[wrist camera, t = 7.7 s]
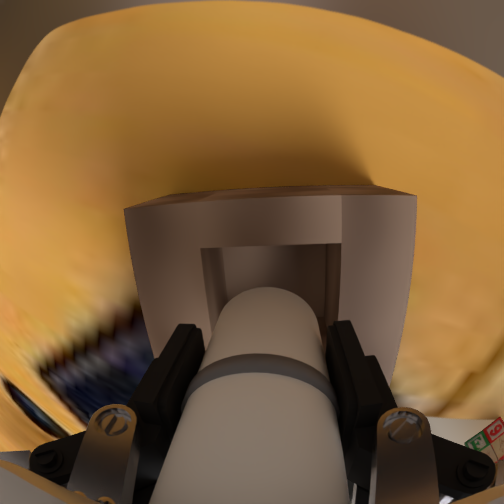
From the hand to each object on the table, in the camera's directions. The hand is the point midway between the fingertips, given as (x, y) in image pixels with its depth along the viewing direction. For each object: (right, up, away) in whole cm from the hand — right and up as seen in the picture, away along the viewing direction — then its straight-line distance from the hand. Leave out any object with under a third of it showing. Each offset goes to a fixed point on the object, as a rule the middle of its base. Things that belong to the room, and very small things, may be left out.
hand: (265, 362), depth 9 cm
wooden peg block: (+1, -2, +11) cm, 11 cm away
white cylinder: (0, +1, +2) cm, 2 cm away
